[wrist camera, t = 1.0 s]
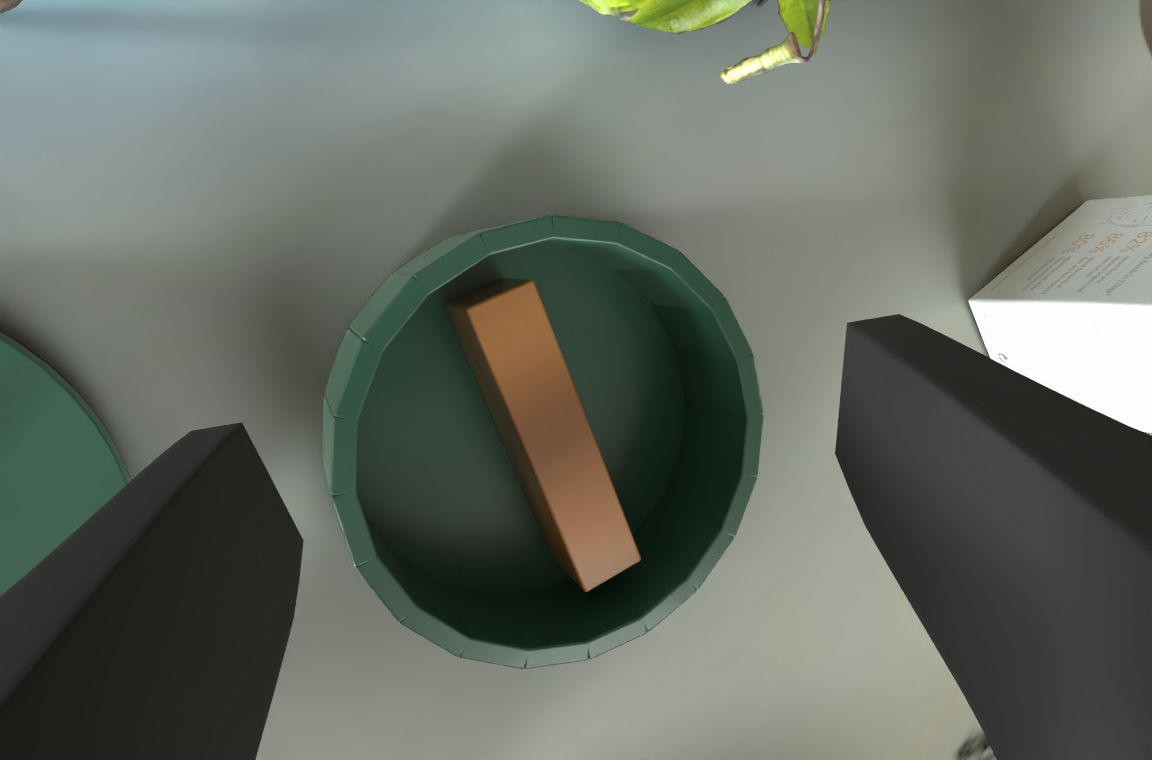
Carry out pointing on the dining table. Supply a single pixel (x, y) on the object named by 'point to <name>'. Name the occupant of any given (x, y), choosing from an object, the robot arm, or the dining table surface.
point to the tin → (483, 467)
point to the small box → (1081, 310)
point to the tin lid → (47, 462)
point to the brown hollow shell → (8, 5)
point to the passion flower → (699, 3)
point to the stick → (544, 428)
